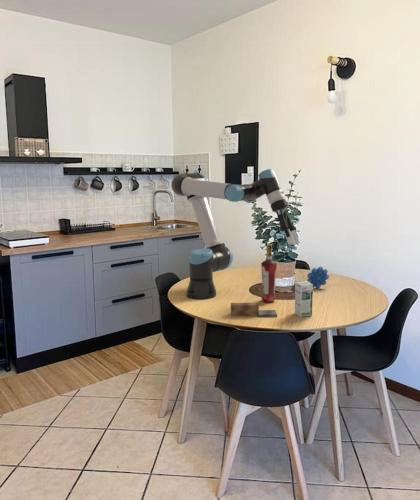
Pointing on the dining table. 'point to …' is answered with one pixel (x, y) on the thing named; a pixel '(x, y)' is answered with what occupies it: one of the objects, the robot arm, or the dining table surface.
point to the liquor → (268, 276)
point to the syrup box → (303, 298)
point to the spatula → (250, 310)
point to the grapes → (318, 277)
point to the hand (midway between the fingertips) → (294, 243)
